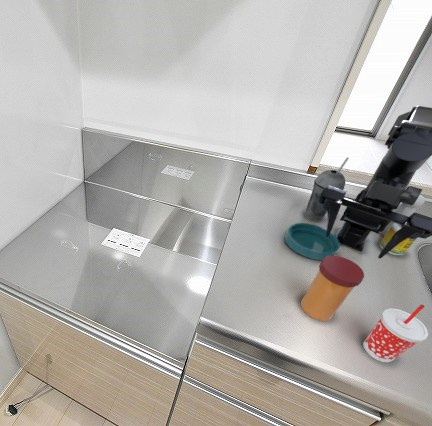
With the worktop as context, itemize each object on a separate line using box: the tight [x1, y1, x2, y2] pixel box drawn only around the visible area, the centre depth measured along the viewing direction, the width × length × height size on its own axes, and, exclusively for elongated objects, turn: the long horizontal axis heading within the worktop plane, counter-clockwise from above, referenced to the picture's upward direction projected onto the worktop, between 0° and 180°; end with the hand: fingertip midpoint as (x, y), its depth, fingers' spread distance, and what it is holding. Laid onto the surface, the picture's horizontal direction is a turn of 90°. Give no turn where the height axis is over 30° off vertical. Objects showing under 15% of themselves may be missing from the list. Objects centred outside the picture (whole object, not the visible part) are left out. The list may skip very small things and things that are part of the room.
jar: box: [300, 269, 355, 322], centre depth 60 cm, size 6×6×12 cm
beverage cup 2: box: [362, 304, 429, 363], centre depth 52 cm, size 6×6×14 cm
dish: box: [284, 222, 341, 261], centre depth 78 cm, size 12×12×3 cm
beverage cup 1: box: [304, 157, 350, 222], centre depth 83 cm, size 7×7×20 cm
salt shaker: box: [379, 194, 426, 237], centre depth 78 cm, size 6×6×13 cm
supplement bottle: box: [379, 216, 418, 256], centre depth 75 cm, size 5×5×10 cm
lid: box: [318, 255, 365, 288], centre depth 56 cm, size 7×7×2 cm
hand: (351, 247), depth 60 cm, fingers open, 9 cm apart
